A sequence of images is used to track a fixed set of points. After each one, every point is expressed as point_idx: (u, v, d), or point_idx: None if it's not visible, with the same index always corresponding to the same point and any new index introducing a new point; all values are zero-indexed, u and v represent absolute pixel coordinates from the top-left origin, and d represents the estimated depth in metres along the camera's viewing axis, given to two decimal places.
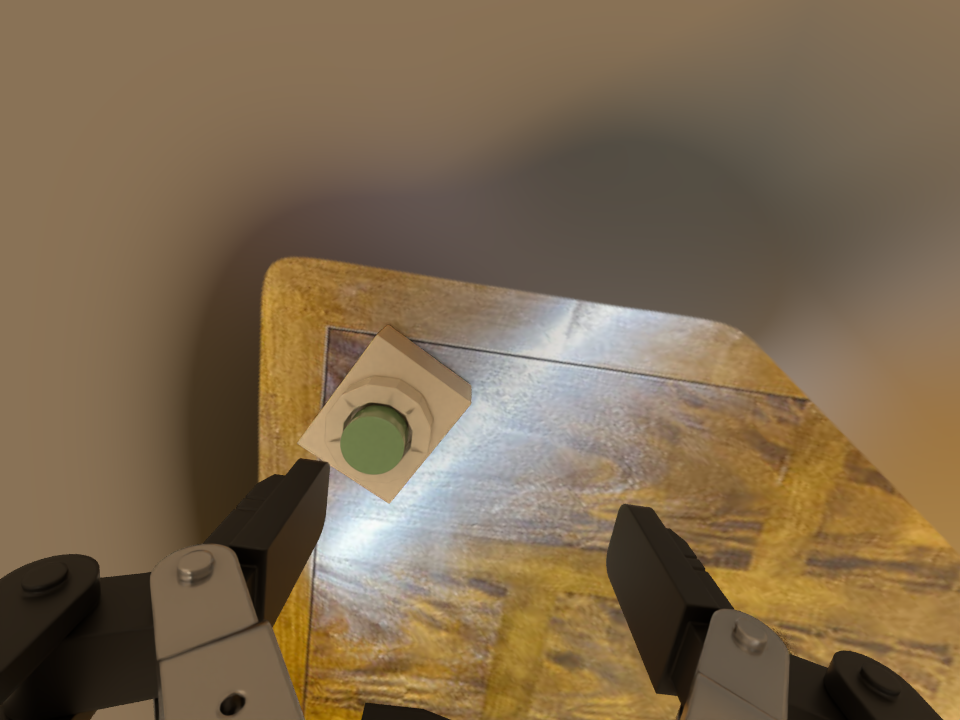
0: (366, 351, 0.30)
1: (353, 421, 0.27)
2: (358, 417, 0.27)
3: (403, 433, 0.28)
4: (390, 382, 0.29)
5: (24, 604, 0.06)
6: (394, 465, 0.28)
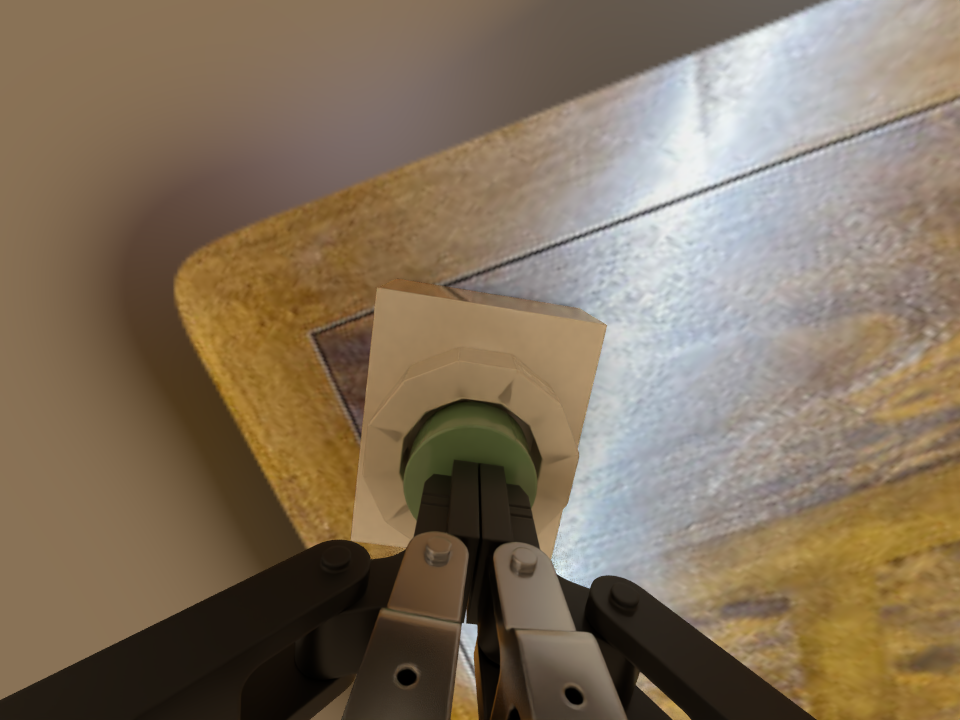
0: (375, 328, 0.15)
1: (411, 458, 0.13)
2: (417, 446, 0.13)
3: (516, 434, 0.13)
4: (443, 358, 0.14)
5: (316, 575, 0.07)
6: (531, 503, 0.13)
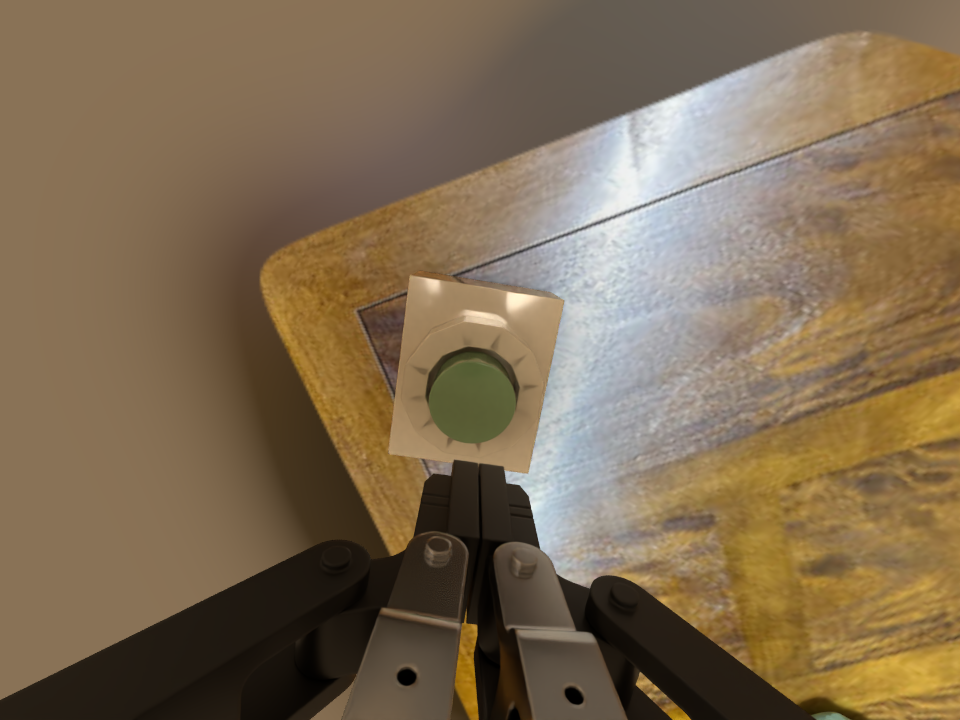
0: (408, 302, 0.23)
1: (434, 383, 0.20)
2: (438, 376, 0.20)
3: (502, 370, 0.20)
4: (454, 321, 0.22)
5: (316, 575, 0.07)
6: (511, 414, 0.20)
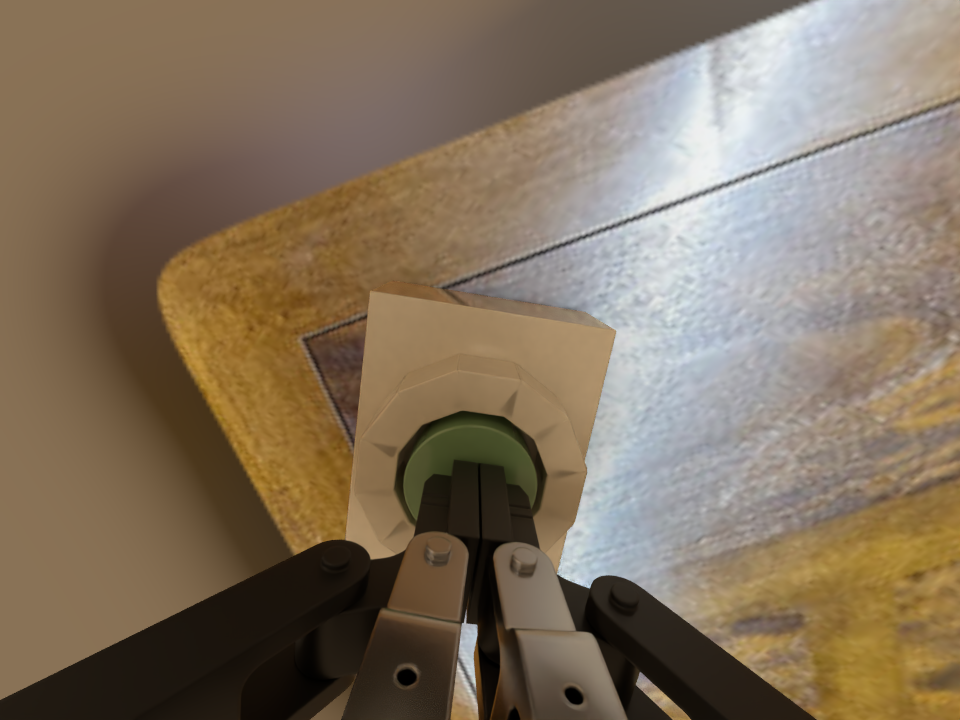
0: (368, 334, 0.14)
1: (411, 458, 0.13)
2: (417, 446, 0.13)
3: (516, 434, 0.13)
4: (441, 367, 0.13)
5: (316, 575, 0.07)
6: (530, 503, 0.13)
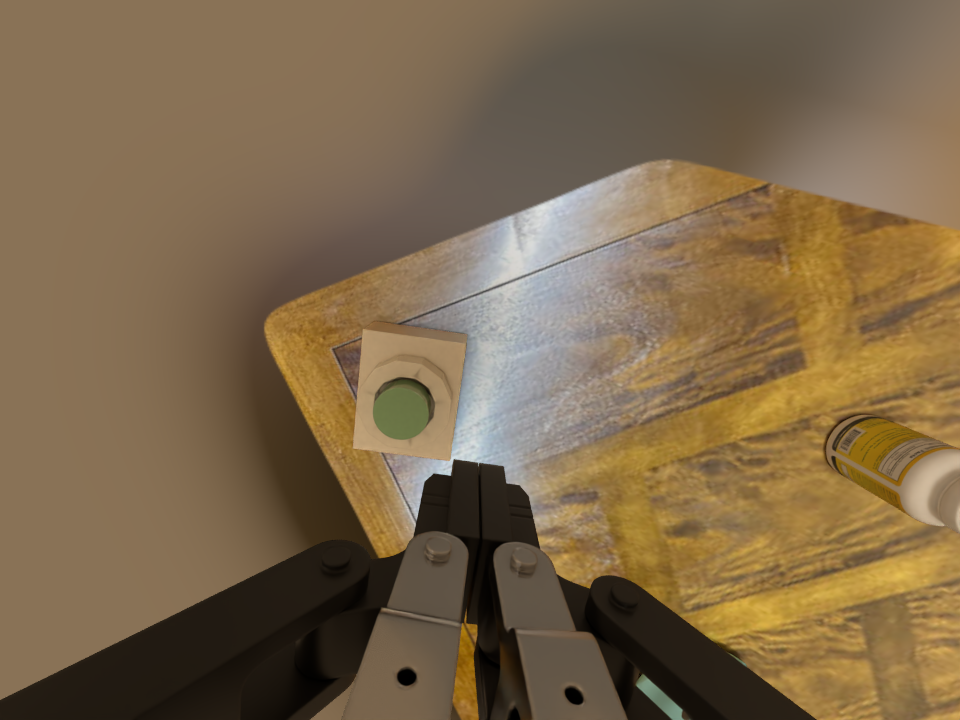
0: (362, 346, 0.34)
1: (375, 401, 0.31)
2: (378, 397, 0.32)
3: (419, 392, 0.32)
4: (392, 360, 0.33)
5: (317, 575, 0.07)
6: (426, 420, 0.32)
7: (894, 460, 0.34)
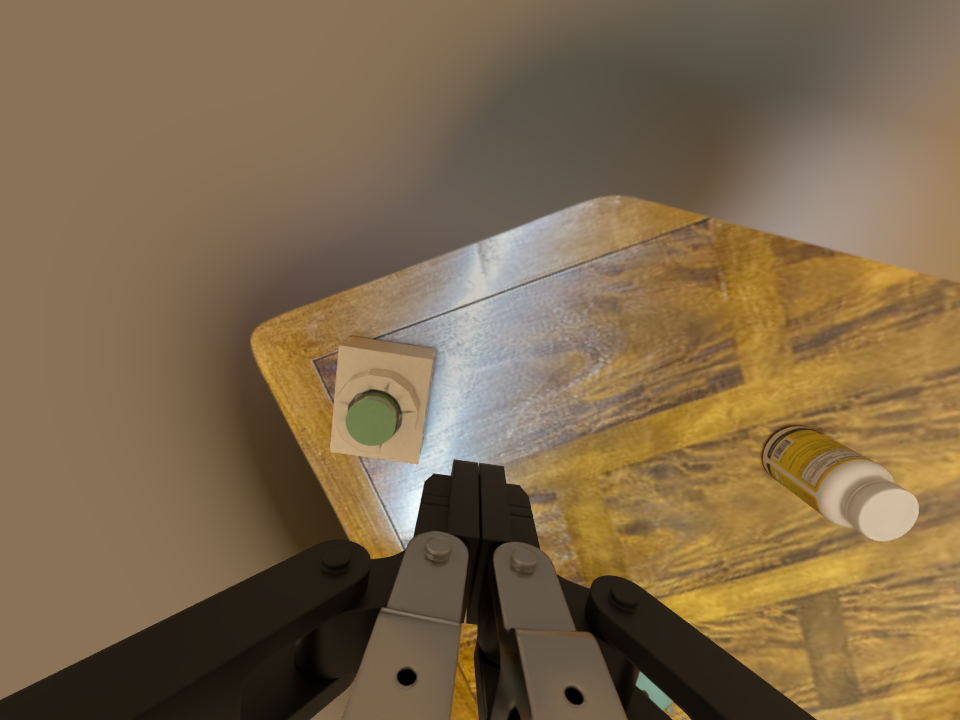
0: (338, 361, 0.38)
1: (348, 411, 0.35)
2: None
3: (388, 403, 0.36)
4: (364, 373, 0.37)
5: (317, 575, 0.07)
6: (393, 429, 0.36)
7: (814, 469, 0.38)
